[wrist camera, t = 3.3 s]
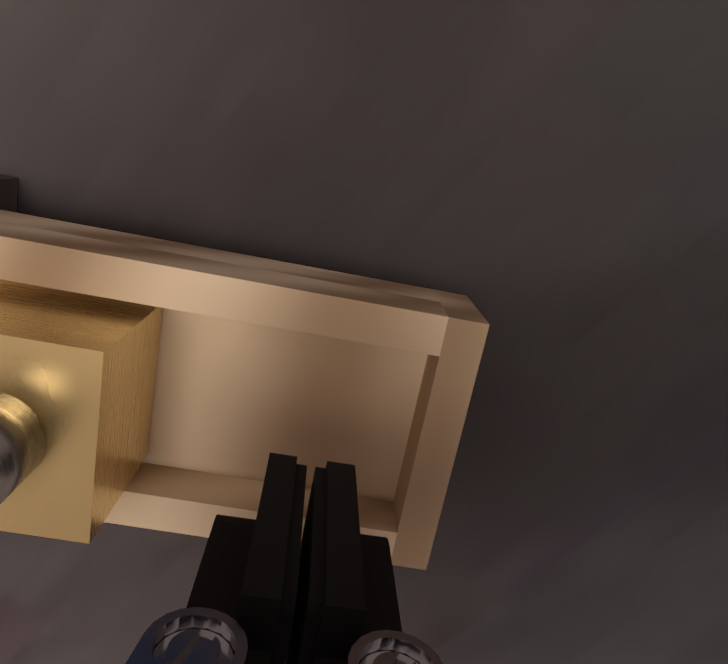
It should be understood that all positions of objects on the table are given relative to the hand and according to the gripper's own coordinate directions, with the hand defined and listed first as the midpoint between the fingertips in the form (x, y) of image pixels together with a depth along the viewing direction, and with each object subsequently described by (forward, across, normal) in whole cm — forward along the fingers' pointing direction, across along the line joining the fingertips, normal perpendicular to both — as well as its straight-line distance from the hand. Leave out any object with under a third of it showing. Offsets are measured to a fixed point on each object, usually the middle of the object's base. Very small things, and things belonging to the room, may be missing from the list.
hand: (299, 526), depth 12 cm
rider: (+5, +6, 0) cm, 8 cm away
